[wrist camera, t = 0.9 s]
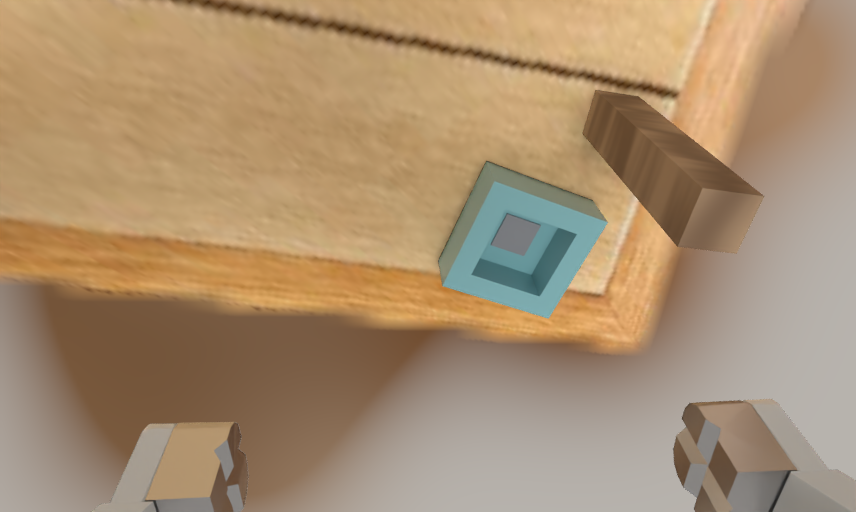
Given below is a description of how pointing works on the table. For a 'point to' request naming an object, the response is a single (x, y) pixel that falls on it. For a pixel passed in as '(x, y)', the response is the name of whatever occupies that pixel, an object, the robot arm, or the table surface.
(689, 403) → the robot arm
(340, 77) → the table surface
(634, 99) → the wooden block
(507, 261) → the light blue square container
